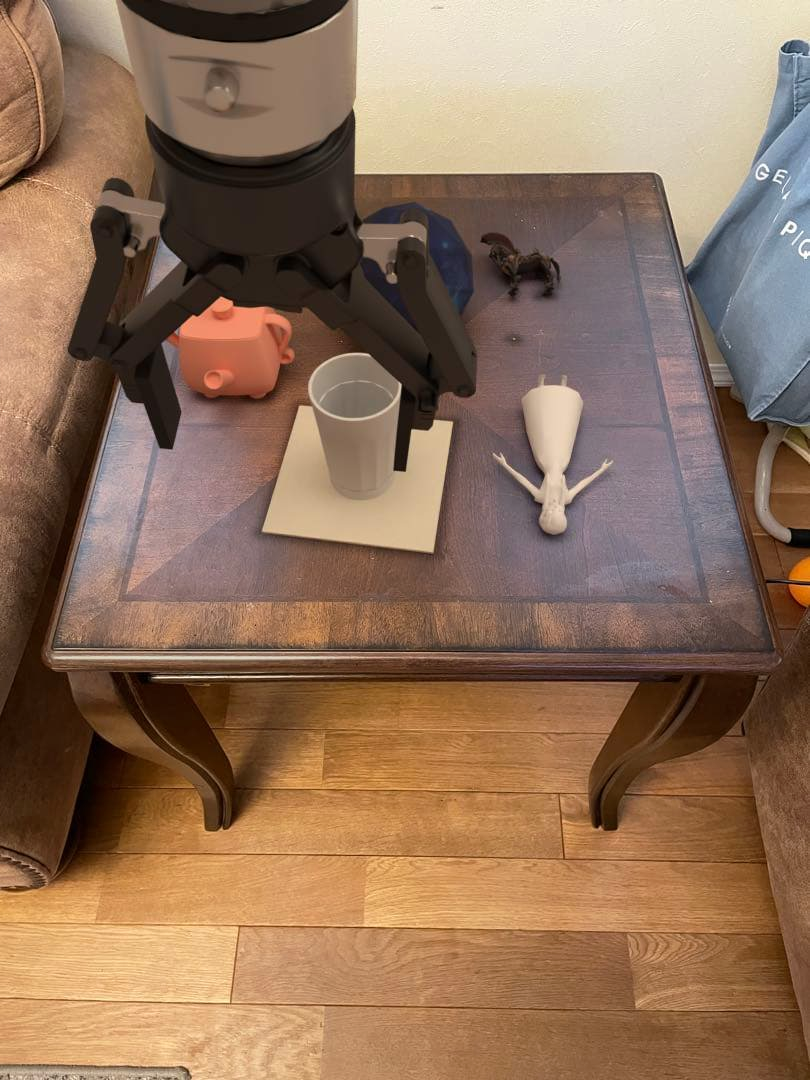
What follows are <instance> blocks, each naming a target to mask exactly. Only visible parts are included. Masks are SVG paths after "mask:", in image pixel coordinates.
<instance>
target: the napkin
mask: <svg viewBox="0 0 810 1080" xmlns="http://www.w3.org/2000/svg"><path fill="white" fill-rule="evenodd" d="M453 426H454V421H451V420H440V419H434V422H433V426H432V427H431V428H430V430H429V431H424V430H414V429H412V430H411V437H410V445H409V452H408V460H407V467H406V472H401V471H395V477H394V481H393V483H392V485H391V486H390V488H389V489H388V490H387V491H386V492H385V493H383V494H382V495H380V496H378V497H376V498H373V499H368V500H354V499H350V498H347V497H345V496H343V495H341V494H340V493H338V492H337V491H336V490H335V489H334V487H333V486H332V484H331V481H330V476H329V469H328V466H327V462H326V458H325V454H324V450H323V446H322V442H321V438H320V434H319V430H318V426H317V423H316V419H315V415H314V412H313V408H312V405H301V404H300V405H299V406H298V409H297V412H296V415H295V419H294V423H293V426H292V429H291V431H290V435H289V440H288V443H287V446H286V449H285V453H284V455H283V459H282V462H281V467H280V469H279V473H278V475H277V478H276V479H277V480H276V481H275V482H276V483H275V486H274V490H273V492H272V496H271V500H270V502H269V503H270V504H269V506H268V510H267V514H266V516H265V520H264V523H263V526H262V529H261V533H262V534H267V535H273V536H274V535H277V536H284V537H291V538H299V539H308V540H315V541H323V542H334V543H341V544H348V545H349V544H350V545H358V546H365V547H375V548H383V549H390V550H398V551H407V552H414V553H422V554H432V555H433V554H434V550H435V545H436V537H437V531H438V524H439V519H440V513H441V512H440V511H441V505H442V500H443V499H442V498H443V492H444V486H445V485H444V484H445V479H446V472H447V467H448V466H447V465H448V459H449V453H450V446H451V439H452V434H453V433H452V432H453Z"/></svg>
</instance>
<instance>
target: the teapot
mask: <svg viewBox="0 0 810 1080" xmlns="http://www.w3.org/2000/svg"><path fill="white" fill-rule="evenodd" d="M282 330H283V331H284V334H283V332H282ZM292 333H293V329H292V325H291V323H290V321H289V320H288V319H287V318H286V317H284V316H282V315H280V314H277V313H276V312H275V309H274V308H270V307H256V308H244V307H234V306H233V302H232V301H230V300H227V299H225V298H223V297H220V298H219V299H218V300H216V301H215V302H214V303H213V304H212V305H211V306H210V307H209V308H208V309H206V310H205V311H204V312H203V313H202V314H201V315H200V316H198V317H196V316H194V315H192V316H191V317H190V318H189V319H188V320H187V321H186V322H185V323H184V324H183V325H181V326H180V327H179V334H177V333H176V331H175V332H174V333H173V334H171V335H170V336H169V337H168V338H167V339H166V340H165V341H166V342H167V343H169V344H170V345H172V346H173V347H174V348H176V349H178V359H179V365H180V371H181V375H182V378H183V381H184V382H185V384H186V385H187V386H188V387H189V388H190V389H191V390H193V391H194V392H197V393H203V394H204V396H205V397H207V398H216V397H219V396H246V395H247V396H249V397H250V398H252V399H262V398H263V397H265V396H266V394H267V393H269V392H271V391H273V390H274V388H275V387H276V383H277V381H278V375H279V372H280V367H281V364H282V365H288V364H291V363H292V362H293V361H294V359H295V352H294V350H293V349H292V348H290V347H287V346H288V344H289V342H290V341H291V337H292Z"/></svg>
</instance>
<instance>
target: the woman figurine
mask: <svg viewBox="0 0 810 1080" xmlns="http://www.w3.org/2000/svg"><path fill="white" fill-rule="evenodd" d="M545 377H546V375H545V374H544V373H543V374H542V373H541V374H539V376H538V379H537V387H535V388H532V389H529V390H528V392H527V393H526V394H525V395H524V396H522V397H521V399H520V401H521V406H522V411H523V418H524V424H525V430H526V434H527V438H528V441H529V444H530V447H531V451H532V454H533V457H534V460H535V463H536V464H537V467H538V468H539V469H540V470H541V471H542V472H543V474H544V478H543V481H542V484H541V486H540V488H538V487H536V486H535V485H533V484H532V483H531V482H530V481H529V480H528V479H527V477H525V476H523V475H522V474H521V473H519V472H517V471H516V470H515V469H513V468H512V467H511V466H510V465H508V464H507V462H506V458H505V456H504V455H503V454H502V452H500V453H499V455H500V456H498V455H497V454H495V452H493V453H492V456H493V458H494V460H495V461H496V462H497V463H498V464H500V465H501V466H502V467H503V468H504V469H505V470H506V471H507V472H508V473H510V475H511V476H512V477H513V478H514V479H515V480H516V481H517V482H518V483H519V484H521V485H522V486H524V488H526V489H527V490H528V491H529V493H530V494H531V495H532V496H533V497H534V502H537V503H539V504H542V506H541V514H540V516H539V519H538V524H539V526H540V528H541V529H542V531H543V532H545V533H547V534H550V535H553V536H554V535H558V534H562V533H564V532H565V530H566V529H567V527H568V519H567V517H566V515H565V510H566V509H565V508H566V505H569V504H571V503H572V502H573V499H574V497H575V496H576V495H577V493H579V492H580V491H581V490H582V489H583V488H585V487H587V486H588V485H589V484H590V483H591V482H592V481H594V480H596V478H597V477H599V476H600V475H601V474H602V473H604V472H605V471H606V470H608V469H609V468H610V467H611V466H612V464H613V463H614V459H612V460H611V461H610V462H608V463H607V461H608V459H607V458H606V459H605V460H604V461H603V463H602V464H601V466H600V469H598V470H597V471H595V472H594V473H593V474H591V475H590V476H587V477H585V478H584V479H581V480H580V481H579V482H577V484H576V485H575V486H573V487H572V488H570V489H568V486H567V482H566V477H565V474H564V472H565V471H566V470H567V469H568V468H569V467H568V466H569V464H570V462H571V457H572V452H573V449H574V445H575V441H576V437H577V432H578V428H579V424H580V419H581V415H582V411H583V407H584V402H583V399H582V397H581V395H580V393H579V392H578V391H576V390H574V389H573V388H571V387H570V386H567V381H568V376H567V375H561V376H560V385H557V384H556V385H555V384H550V385H545ZM551 383H552V382H551Z"/></svg>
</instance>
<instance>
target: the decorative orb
mask: <svg viewBox="0 0 810 1080" xmlns="http://www.w3.org/2000/svg"><path fill="white" fill-rule="evenodd" d="M409 209H418V210H420V211H422V212H424V213H425V214H426V216H427V218H428V237H429V253H430V255H431V257H432V259H433V261H434V263H435V265H436V267H437V270H438V272H439V274H440V276H441V278H442V280H443V282H444V284H445V286H446V288H447V290H448V292H449V294H450V297H451V299H452V301H453V303H454V305H455V307H456V309H457V311H458V313H459V315H460V317H462V316H463V314H464V312H465V310H466V307H467V306H468V304H469V302H470V300H471V297H472V296H473V294H474V291H475V288H474V271H473V270H474V269H473V255H472V253H471V252H470V250H469V249H468V247H467V245H466V243H465V241H464V240H463V238H462V236H461V234H460V233H459V231H458V229H457V228H456V226H455V224H454V223H453V221H452V219H449V218H447V217H445V216H444V215H441V214H440V213H438V212H435V211H434V210H432V209H430V208H428V207H426V206H424V205H422V204H420V203H418V202H416V201H413V202H412V201H411V202H408V203H402V204H397V205H391V206H385V207H382V208H379V209H378V210H377V211H374V213H372V214H370V215H368V216H367V217H364V218H363V219H362V221H363V223H364V224H400V217H401V215H402V214H403V212H405V211H407V210H409ZM359 265H360V266H361V268H362V270H363V273H364V277H365V279H366V280H367V281H368V282H369V283H370V284H371V285H372V286H373V287H374V288H375V289H376V290H377V291H378V292H379V293H380V294H381V295H382V296H383V298H384V299H385V300H386V301H387V302H388V303H389V304H390V305H391V306H392V307H393V308H394V309H395V310H396V311H397V312H398V313H399V314H400V315H401V316H402V317H403V318H404V319H405V320H406V321H407V322H408V323H409V324H410V325H411V326H412V327H413V328H414V329H415V330H416V331H417V332H418V333H419V331H418V330H417V328H416V326H415V324H414V322H413V321H412V319H411V317H410V315H409V313H408V312H407V310H406V308H405V306H404V304H403V302H402V300H401V297H400V294H399V291H398V284H397V283H395V284H391V283H389V282H387V281H386V274H384V273H383V272H382V271H381V269H380V267H379V264H378V263H377V262H376V261H374V260H373V259H370V258H365V257H363V258H362V260H361V262H360V264H359ZM419 334H420V333H419Z"/></svg>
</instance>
